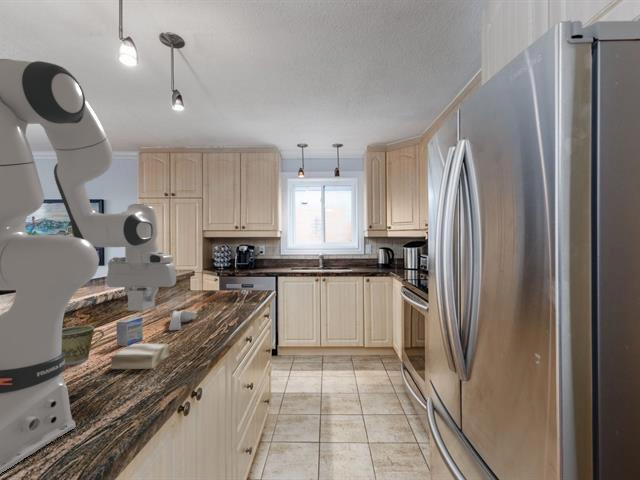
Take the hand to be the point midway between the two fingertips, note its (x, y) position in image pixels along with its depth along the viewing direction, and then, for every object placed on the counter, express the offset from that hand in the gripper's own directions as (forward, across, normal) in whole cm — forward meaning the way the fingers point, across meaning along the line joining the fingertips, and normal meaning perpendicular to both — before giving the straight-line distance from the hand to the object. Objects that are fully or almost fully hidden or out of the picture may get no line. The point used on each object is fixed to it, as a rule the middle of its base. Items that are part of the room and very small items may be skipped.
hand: (141, 301), depth 99 cm
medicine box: (+19, -15, +19) cm, 31 cm away
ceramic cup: (+19, -20, +1) cm, 28 cm away
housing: (+2, 0, 0) cm, 2 cm away
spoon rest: (+19, -8, +46) cm, 51 cm away
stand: (+19, 0, 0) cm, 19 cm away
